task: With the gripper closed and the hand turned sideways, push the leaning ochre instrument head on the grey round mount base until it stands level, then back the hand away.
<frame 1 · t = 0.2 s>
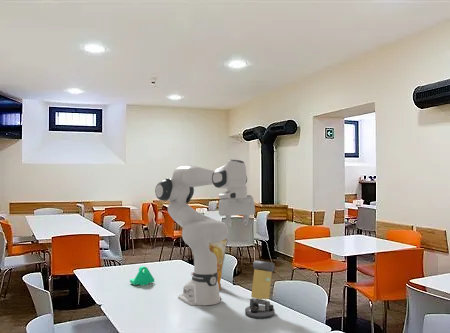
hand: (237, 225, 192), 39 cm above the table, tool pointing down, fingers open, 8 cm apart
grey round mount base: (259, 314, 189), on the table
instrument head: (261, 282, 190), point 14 cm above the table, hinge at 12.0°
pancake mix bag: (213, 286, 238), on the table
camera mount: (141, 284, 244), on the table
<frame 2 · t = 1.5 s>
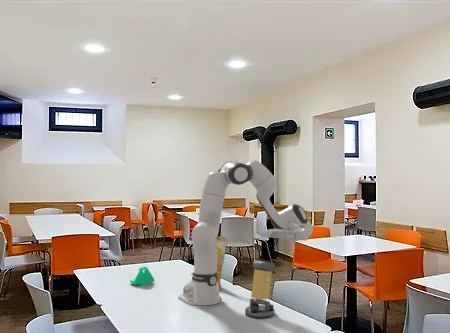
hand: (277, 236, 202), 33 cm above the table, tool horizontal, fingers open, 8 cm apart
nothing on the table moved.
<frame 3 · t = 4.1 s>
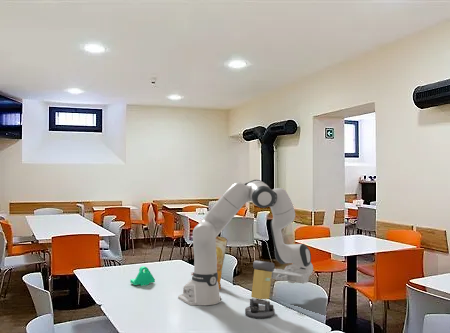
hand: (278, 278, 202), 13 cm above the table, tool horizontal, fingers closed
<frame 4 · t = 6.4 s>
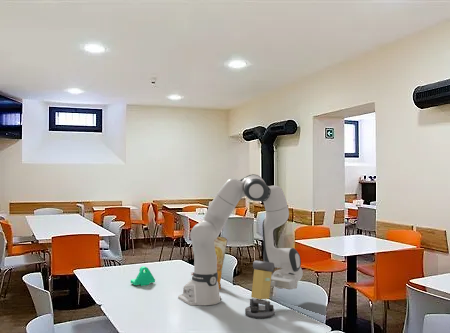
hand: (265, 284, 193), 12 cm above the table, tool horizontal, fingers closed, pressing on instrument head
instrument head: (261, 282, 190), point 14 cm above the table, hinge at 11.5°, touching gripper
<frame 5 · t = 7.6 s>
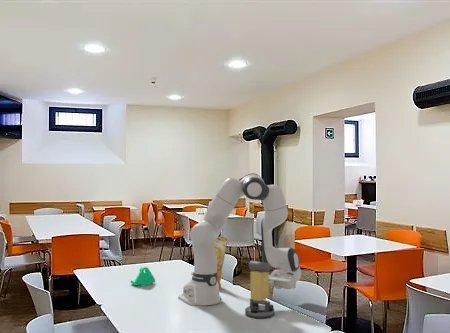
hand: (264, 284, 192), 12 cm above the table, tool horizontal, fingers closed, pressing on instrument head
instrument head: (259, 282, 189), point 14 cm above the table, hinge at -0.7°, touching gripper
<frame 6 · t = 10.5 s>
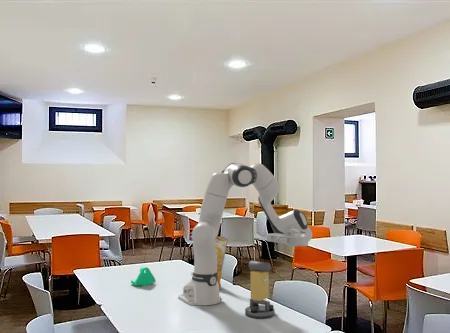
hand: (278, 240, 202), 30 cm above the table, tool horizontal, fingers closed
instrument head: (259, 282, 189), point 14 cm above the table, hinge at -0.7°
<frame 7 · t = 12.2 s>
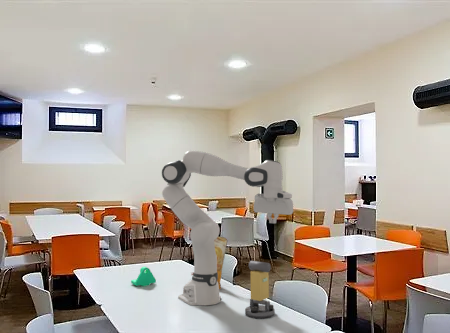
hand: (272, 223, 203), 39 cm above the table, tool pointing down, fingers closed
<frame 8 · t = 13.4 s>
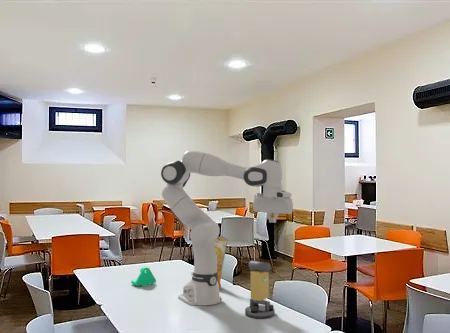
hand: (272, 222, 203), 39 cm above the table, tool pointing down, fingers closed
at the end: instrument head at -1° (first picture: +12°) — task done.
